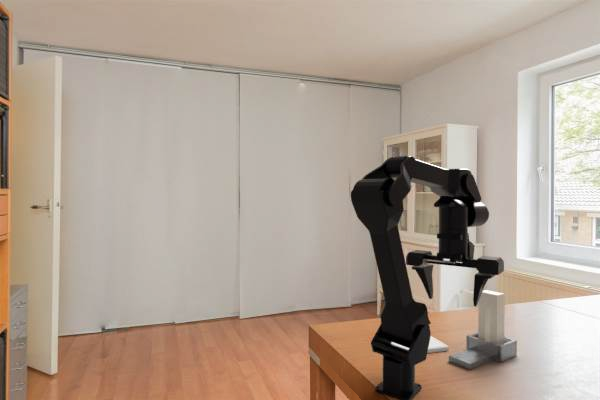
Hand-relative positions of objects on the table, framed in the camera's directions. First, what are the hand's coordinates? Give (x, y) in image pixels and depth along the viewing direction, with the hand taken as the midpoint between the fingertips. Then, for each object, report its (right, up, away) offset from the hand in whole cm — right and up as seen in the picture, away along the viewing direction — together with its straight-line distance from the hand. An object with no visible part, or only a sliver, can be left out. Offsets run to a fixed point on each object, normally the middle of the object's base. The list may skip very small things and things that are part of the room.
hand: (452, 302), depth 84 cm
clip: (+11, -12, +6) cm, 17 cm away
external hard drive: (-5, -14, +9) cm, 17 cm away
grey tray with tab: (+8, -13, +4) cm, 16 cm away
